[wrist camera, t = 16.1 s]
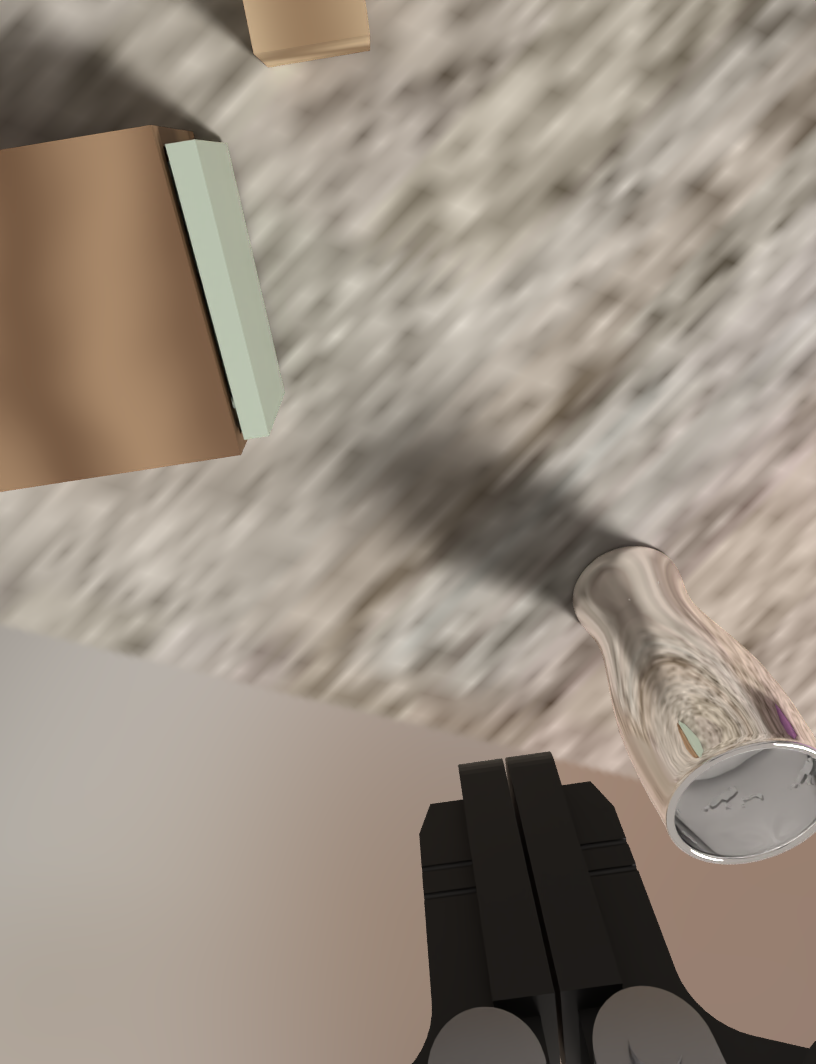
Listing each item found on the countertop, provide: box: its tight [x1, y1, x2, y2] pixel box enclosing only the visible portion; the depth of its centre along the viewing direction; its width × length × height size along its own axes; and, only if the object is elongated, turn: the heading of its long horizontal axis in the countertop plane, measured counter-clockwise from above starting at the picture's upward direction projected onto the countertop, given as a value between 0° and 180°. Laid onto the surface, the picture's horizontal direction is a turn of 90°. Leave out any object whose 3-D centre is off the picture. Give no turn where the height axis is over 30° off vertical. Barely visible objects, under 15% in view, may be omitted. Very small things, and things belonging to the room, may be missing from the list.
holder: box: [0, 125, 248, 492], centre depth 29 cm, size 12×12×6 cm
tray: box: [165, 139, 285, 440], centre depth 28 cm, size 12×10×6 cm
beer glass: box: [573, 546, 816, 864], centre depth 33 cm, size 7×7×15 cm
